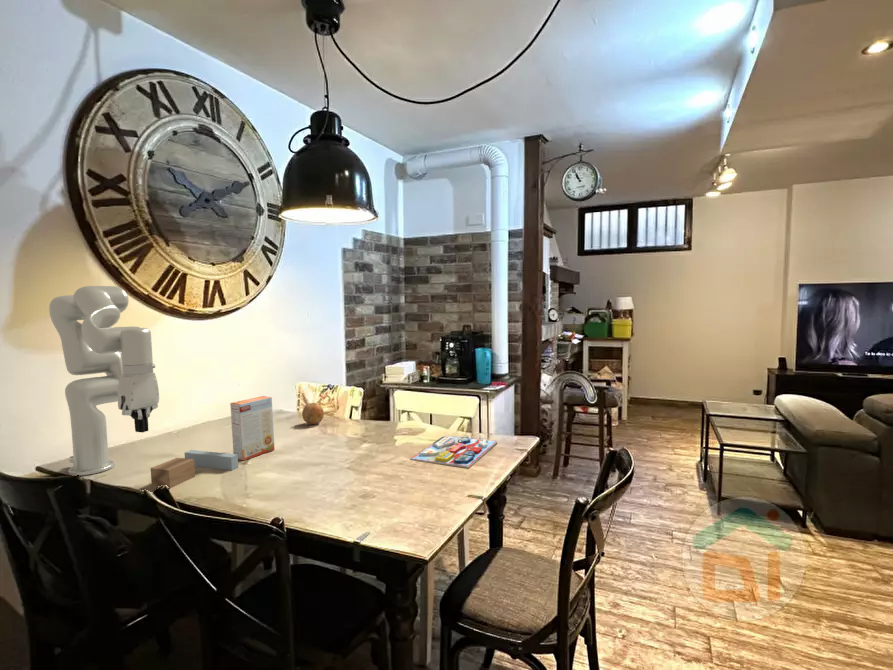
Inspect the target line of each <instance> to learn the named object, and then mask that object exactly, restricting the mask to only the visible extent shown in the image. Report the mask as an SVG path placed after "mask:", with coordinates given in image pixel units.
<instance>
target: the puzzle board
mask: <svg viewBox="0 0 893 670" xmlns="http://www.w3.org/2000/svg"><path fill="white" fill-rule="evenodd" d="M497 444H498V441H497V440H493V439H492V440H491V439H484V438H482V439H481V438H474V437H469V436H468V435H467V436H453V435H443V436H442V437H440V438H438V439H437V440H435V441H434V442H432V443H431V445H429V446H428V447H426V448H424V449H422V450H421V451H419V452H418V453H416V454H415V455H413V456H412V457H410V458H409V459H410V461H416V462H423V463H430V464H436V465H443V466H444V465H445V466H451V467H456V468H457V467H458V468H463V469H470V468H471V467H472V466H475V464H476V463H477V462H478V461H479V460H480V459H481V458H483V457H484V456H485V455H486V454H487V453H488V452H490V450H492V449H493V448H494V447H495V446H497Z"/></svg>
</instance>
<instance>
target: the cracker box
mask: <svg viewBox="0 0 893 670" xmlns="http://www.w3.org/2000/svg"><path fill="white" fill-rule="evenodd" d="M273 414H274V413H273V397H272V396H265V395H261V396H257V397H252V398H247V399H244V400H237V401H234V402H233V401H232V402H230V419H231V420H230V421H231V433H232V434H231V435H232V436H231V437H232V451H233V453H232V454H237V455H238V461H246V460H249V459H251V458H255V457H258V456H261V455H264V454H267V453H269V452H273V451H275V434H274V433H275V429H274V415H273Z"/></svg>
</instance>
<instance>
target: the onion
mask: <svg viewBox="0 0 893 670" xmlns="http://www.w3.org/2000/svg"><path fill="white" fill-rule="evenodd" d="M301 413H302V414H301V415H302V419H303V421H304V422H305V423H307V424H308V425H316V424H319V423H320V422H321V421H322V420H323V418H324V415H325V411H324V409H323V407H322V406H321V405H320V404H319V403H317V402H310V403H307V404H306V405H304V408H302V412H301Z"/></svg>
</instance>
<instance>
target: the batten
mask: <svg viewBox="0 0 893 670" xmlns="http://www.w3.org/2000/svg"><path fill="white" fill-rule="evenodd" d="M184 458H186V459H194V464H195V467H198V468H199V467H200V468H207V469H208V468H209V469H217V470H225V471H226V470H227V471H233V470H236V469H238V468H239V459H238V455H237V454H234V453H226V452H217V451H207V450H206V451H205V450H196V449H190V450H187V451H185V452H184Z"/></svg>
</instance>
